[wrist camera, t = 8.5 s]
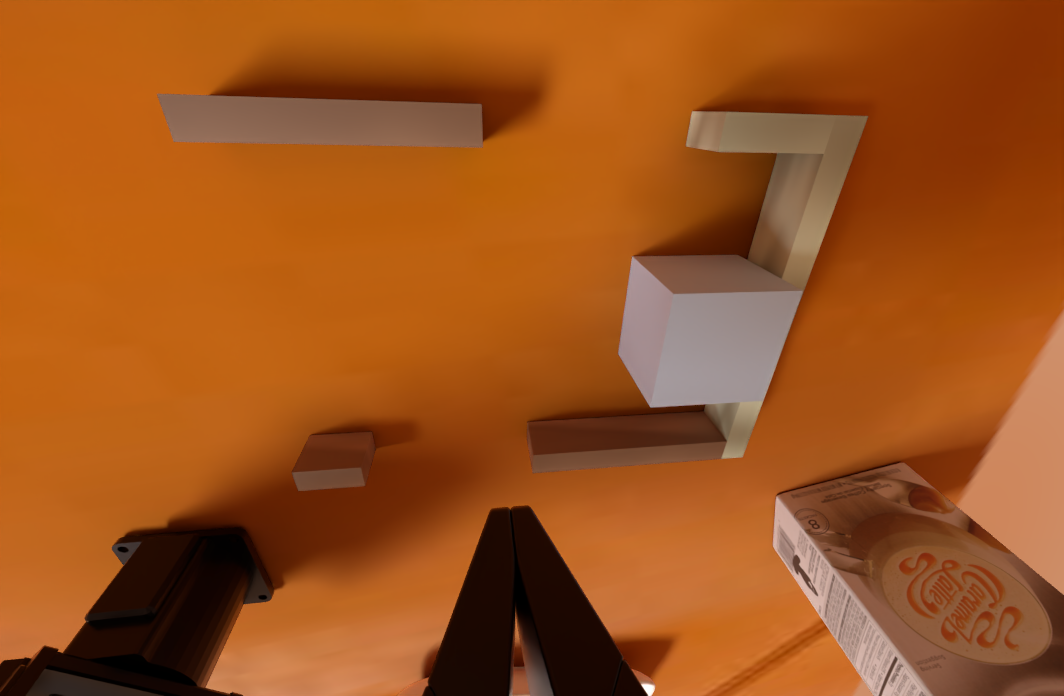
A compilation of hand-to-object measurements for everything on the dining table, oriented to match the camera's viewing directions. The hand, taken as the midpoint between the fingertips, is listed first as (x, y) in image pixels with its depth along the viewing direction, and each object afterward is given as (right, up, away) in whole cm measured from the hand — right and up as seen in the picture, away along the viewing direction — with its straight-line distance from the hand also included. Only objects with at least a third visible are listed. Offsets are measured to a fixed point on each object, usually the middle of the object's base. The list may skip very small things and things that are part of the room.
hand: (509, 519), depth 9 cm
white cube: (+7, +6, +11) cm, 15 cm away
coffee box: (+22, -7, +21) cm, 31 cm away
